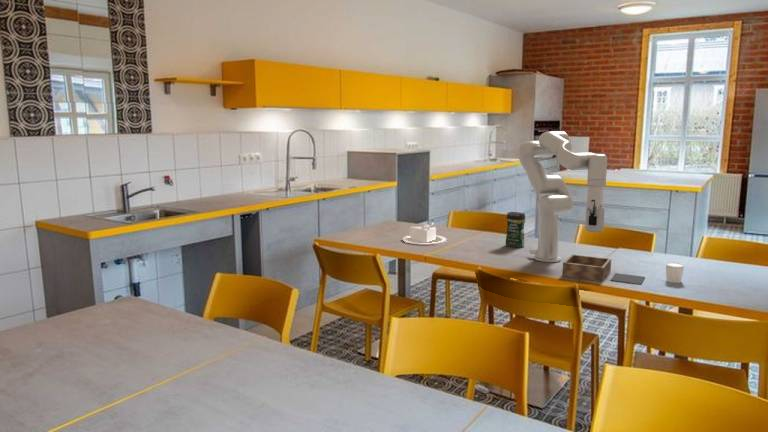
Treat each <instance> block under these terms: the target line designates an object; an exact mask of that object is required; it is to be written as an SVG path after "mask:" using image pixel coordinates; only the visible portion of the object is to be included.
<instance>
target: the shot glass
mask: <svg viewBox="0 0 768 432" xmlns="http://www.w3.org/2000/svg"><path fill="white" fill-rule="evenodd" d="M684 267H685V265H684V264H681V263H676V262H667V263H665V274H666V276H665V277H666V278H665V280H666V281H667V282H669V283H674V284H676V283H677V284H678V283H681V282H682V277H683V275H684V274H683V273H684Z"/></svg>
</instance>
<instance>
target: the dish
mask: <svg viewBox="0 0 768 432" xmlns="http://www.w3.org/2000/svg"><path fill="white" fill-rule="evenodd" d="M434 224H435V223H434V222H431V224H427V223H426V222H424V224H423V225H422V226H410V227H409V235H405V236H404V237H402V238H401V241H402V240H403V241H404V242H406V243H405V244H407V243H411V244H421V245H429V244H439V243H443V242H445V241H446V240H447V237H444V236H443V235H438V234H437V227H436V226H433V225H434ZM432 226H433V227H432ZM436 237H438V238H440V239H442V240H441V241H438V242H432V243H418V242H411V241H408V240H407V239H408V238H412V239H416V240H420V241H423V242H429V241H432V240H435V239H436ZM403 241H402V242H403ZM404 242H403V243H404ZM446 242H447V241H446ZM446 242H445V243H446ZM411 244H410V245H411ZM443 244H444V243H443ZM439 245H440V244H439Z"/></svg>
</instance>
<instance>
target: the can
mask: <svg viewBox="0 0 768 432" xmlns="http://www.w3.org/2000/svg"><path fill="white" fill-rule="evenodd" d="M593 209H596V208H593ZM605 209H606V208H605V207H604V203H603V204H602V205H600V207H599V210H597V213H596V216H597V225H596V226H595V225H589V224H588V223H589V211H590V208H589V210H587V206H586V207H585V226H584V230H586V231H587V232H589V233H602V232H603V231H604V225H605Z"/></svg>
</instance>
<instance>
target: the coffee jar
mask: <svg viewBox="0 0 768 432" xmlns="http://www.w3.org/2000/svg"><path fill="white" fill-rule="evenodd" d="M505 221H506V223H507V227H506V228H507V229H506V237H505V246H506V247H510V246H511V248H516V247H519V248H523V247H524V246H525V224H526V214H525V212H517V211H510V212H507V213H506V220H505Z"/></svg>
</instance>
